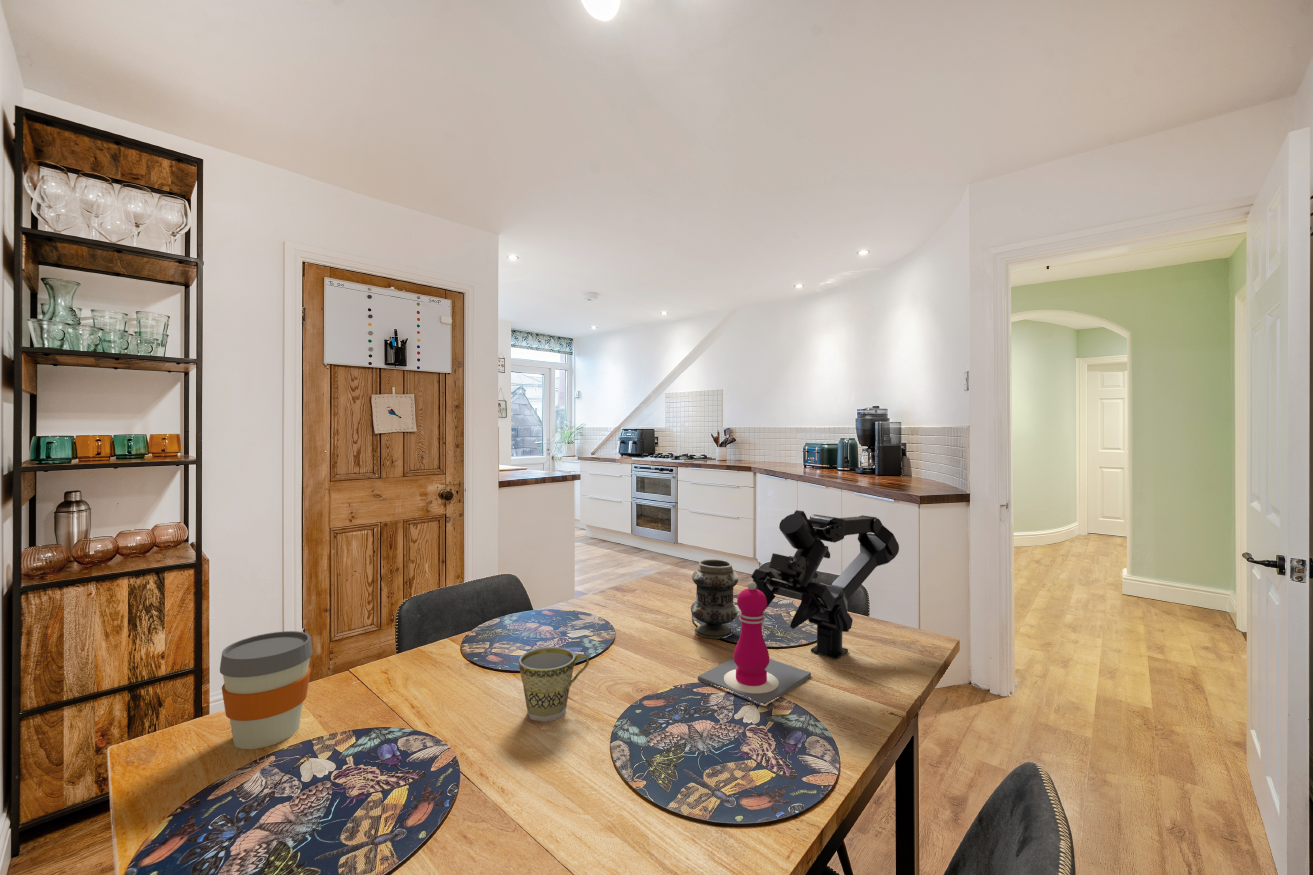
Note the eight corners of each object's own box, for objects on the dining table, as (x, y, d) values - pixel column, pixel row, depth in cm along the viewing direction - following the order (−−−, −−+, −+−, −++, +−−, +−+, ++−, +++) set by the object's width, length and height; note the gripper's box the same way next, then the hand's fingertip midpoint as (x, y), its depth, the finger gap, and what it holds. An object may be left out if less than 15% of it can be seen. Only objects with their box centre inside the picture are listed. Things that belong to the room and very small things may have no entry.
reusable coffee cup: (239, 765, 81) (239, 666, 81) (205, 739, 88) (206, 648, 88) (326, 727, 92) (327, 640, 92) (290, 707, 99) (291, 625, 99)
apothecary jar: (740, 641, 132) (741, 568, 132) (691, 640, 133) (692, 567, 132) (734, 624, 144) (735, 557, 144) (689, 623, 145) (690, 556, 145)
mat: (746, 654, 125) (746, 650, 125) (810, 676, 114) (810, 671, 114) (697, 679, 111) (697, 675, 111) (764, 707, 100) (764, 702, 100)
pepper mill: (757, 691, 105) (758, 588, 105) (726, 679, 110) (727, 581, 109) (775, 678, 110) (776, 581, 110) (745, 668, 115) (745, 574, 115)
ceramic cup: (525, 732, 91) (526, 673, 91) (512, 705, 100) (513, 652, 100) (597, 714, 97) (598, 659, 97) (579, 691, 106) (579, 640, 106)
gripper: (756, 533, 124) (722, 589, 118) (827, 546, 110) (793, 611, 103) (778, 562, 129) (747, 617, 123) (848, 578, 115) (817, 642, 108)
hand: (773, 621), depth 114 cm, fingers open, 9 cm apart
